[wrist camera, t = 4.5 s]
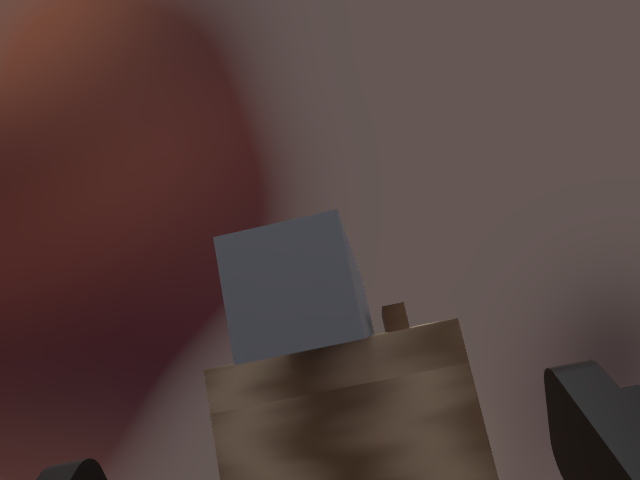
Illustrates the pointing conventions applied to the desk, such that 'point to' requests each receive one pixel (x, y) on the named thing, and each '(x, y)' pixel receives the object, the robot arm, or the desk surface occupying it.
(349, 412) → the zigzag patterned block
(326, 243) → the bar
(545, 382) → the robot arm
